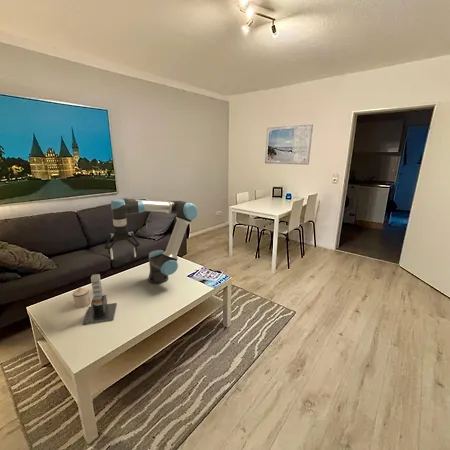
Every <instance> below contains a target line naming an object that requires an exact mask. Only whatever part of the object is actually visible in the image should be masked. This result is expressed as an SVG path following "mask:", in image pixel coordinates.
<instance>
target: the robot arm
mask: <svg viewBox="0 0 450 450" xmlns="http://www.w3.org/2000/svg"><path fill="white" fill-rule="evenodd" d="M110 208H111V214H112V223H113V224H112V225H113V232H114V233H112V232H110V233H109V234H108V239H107V240H106V243H105V246H104V250H107V251H108V255H110V260H113V259H114V254H113V253H114V252H113V248H112V247H113V246H114V245H115V243H116V242H117V241H125V240H126V241H128V243H130V244H131V246H133V254H134V255H133V256H134V258H136V257H137V252H138V247H140V246H141V244H140V242H139V240H138V238H136V236H135V233H134V231H128V225H127V224H128V223H127V222H128V221H127V215H134V214H141V213H143V212H160V213H166V214H170V215H171V214H172V215H175V219H176V221H175V225H174V228H173V229H172V232H171V235H170V238H169V240H168V244H167V246H166V248H165V250H163V249H157V250H152V251H150V252H149V254H148V262H149V263H148V264H149V274H148V277H147V280H148V282H149V283H150V284H152V285H153V284H154V285H159V284H163V282H164V283H165V281H166V282H167V281H168V280H169V276H170V275H173V274H174V273H176V272H177V270H178V268H179V264H178V259H179V257H178V253H179V250H180V247H181V244H182V242H183V238H184V237H185V234H186V232H187V228H188V225H190V224H191V223H192V221H193V220H195V219H196V218H197V216H198V207H197V206H196V205H195V204H194V203H191V202H187V201H184V200H167V201H159V200H148V199H133V198H127V197H122V198H118V199H113V200H111V201H110ZM129 236H131V238H132V239H133V240H132V239H131V238H130V237H129ZM113 237H114V240H113V241H112V242H111V239H112V238H113ZM110 242H111V243H110Z"/></svg>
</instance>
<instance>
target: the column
mask: <svg viewBox="0 0 450 450" xmlns="http://www.w3.org/2000/svg"><path fill="white" fill-rule="evenodd" d="M90 281H91V282H90V283H91V290H92V293H93V294H92V296H93V297H94V302H101V301H103V287H102V280H101V274H100V273H97V274H96V273H95V274H91V277H90ZM96 305H102V304H95V306H96Z"/></svg>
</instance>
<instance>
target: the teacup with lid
mask: <svg viewBox="0 0 450 450" xmlns="http://www.w3.org/2000/svg"><path fill="white" fill-rule="evenodd" d="M72 297H73V302H74V308H78V309H80V308H81V309H82V308H85V307H88V306H89V304H90V305H91V299H90V298H91V297H90V290H89V288H86V287H79V288H78V289H75V290H74V291H73V292H72Z"/></svg>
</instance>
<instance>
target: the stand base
mask: <svg viewBox="0 0 450 450" xmlns="http://www.w3.org/2000/svg"><path fill="white" fill-rule="evenodd" d="M91 299H92V300H91V301H90V306H88V308H87V311H86V313H85V316H84V318H83V321H82V325H83V326H85V325H92V324H96V323H97V324H98V323H105V322H109V321H114V319H115V314H116V309H117V306H118V304H117V302H113V303H108V299H107V295H106V294H104V295H103V301H101V302H94V296H93V297H92V298H91ZM95 304H102V305H96V306H95Z"/></svg>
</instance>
